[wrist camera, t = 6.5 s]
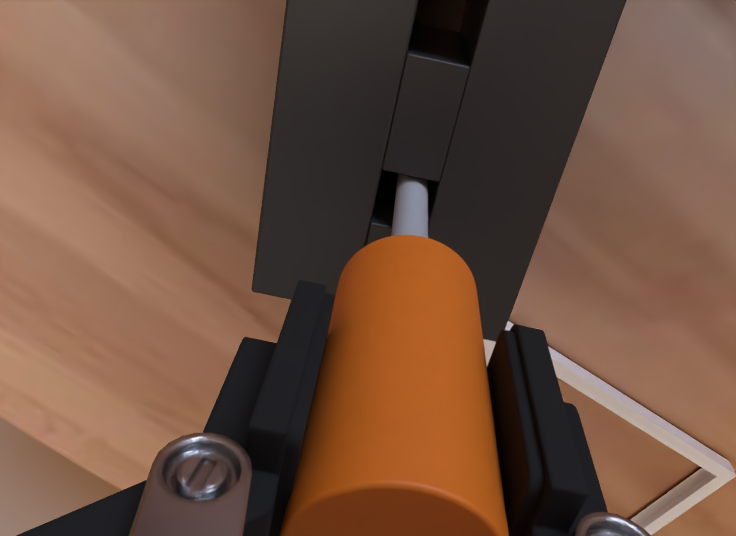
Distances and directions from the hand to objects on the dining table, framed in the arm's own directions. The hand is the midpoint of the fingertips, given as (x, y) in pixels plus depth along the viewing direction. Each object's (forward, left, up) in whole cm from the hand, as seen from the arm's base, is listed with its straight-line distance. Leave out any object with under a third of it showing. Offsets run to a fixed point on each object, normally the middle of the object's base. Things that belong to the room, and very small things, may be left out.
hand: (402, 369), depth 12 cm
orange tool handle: (0, 0, -12) cm, 12 cm away
